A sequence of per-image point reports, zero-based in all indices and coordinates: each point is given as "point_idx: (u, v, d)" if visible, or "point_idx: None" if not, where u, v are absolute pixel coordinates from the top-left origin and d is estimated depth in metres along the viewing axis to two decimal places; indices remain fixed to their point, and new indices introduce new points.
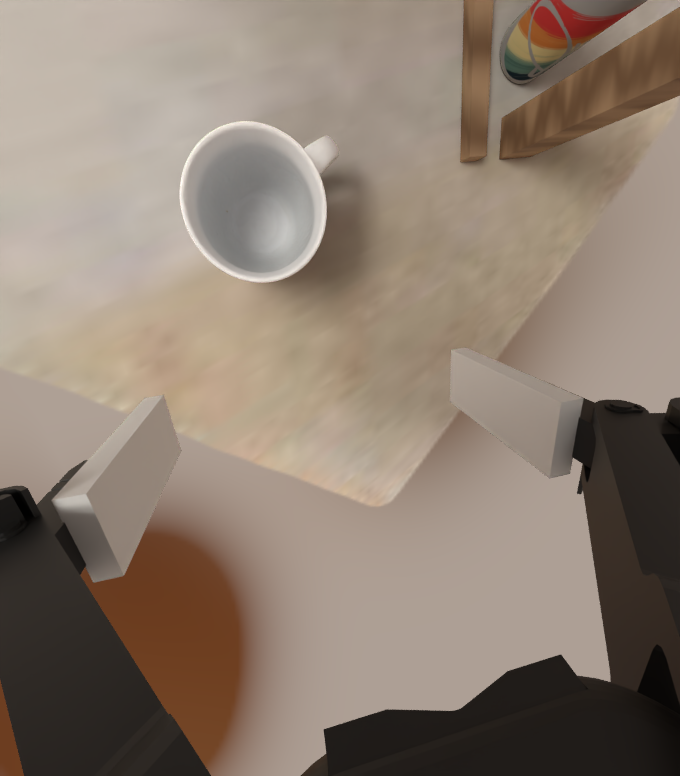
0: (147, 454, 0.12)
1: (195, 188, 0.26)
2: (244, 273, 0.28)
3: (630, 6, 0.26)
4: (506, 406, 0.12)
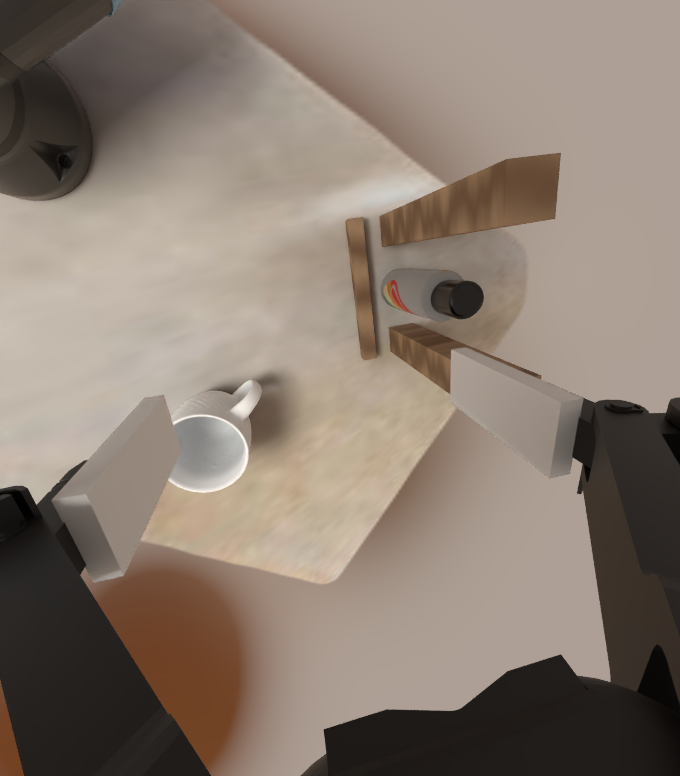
0: (147, 454, 0.12)
1: None
2: (199, 486, 0.43)
3: None
4: (506, 406, 0.12)
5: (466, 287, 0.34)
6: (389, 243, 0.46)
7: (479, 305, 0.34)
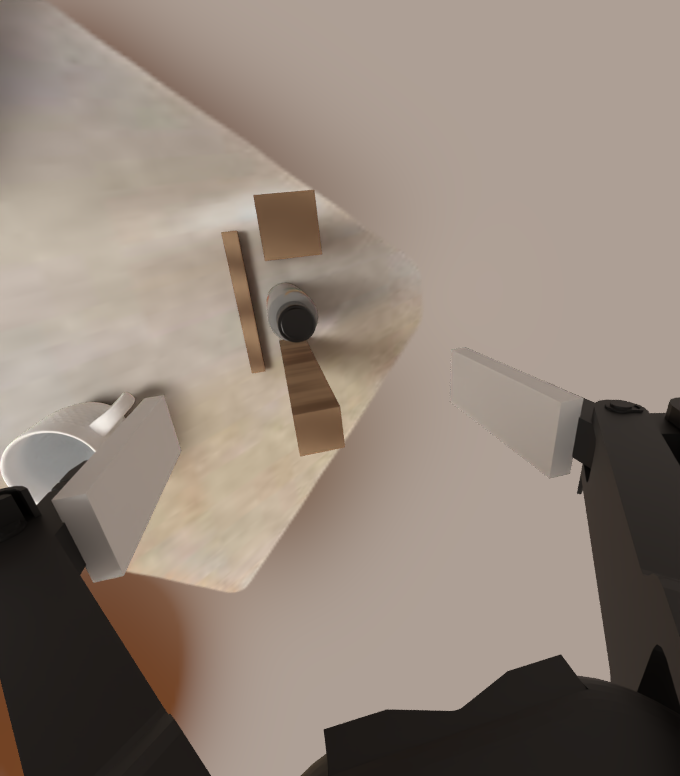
0: (147, 454, 0.12)
1: (17, 457, 0.41)
2: None
3: None
4: (506, 406, 0.12)
5: (296, 311, 0.33)
6: None
7: (311, 329, 0.34)
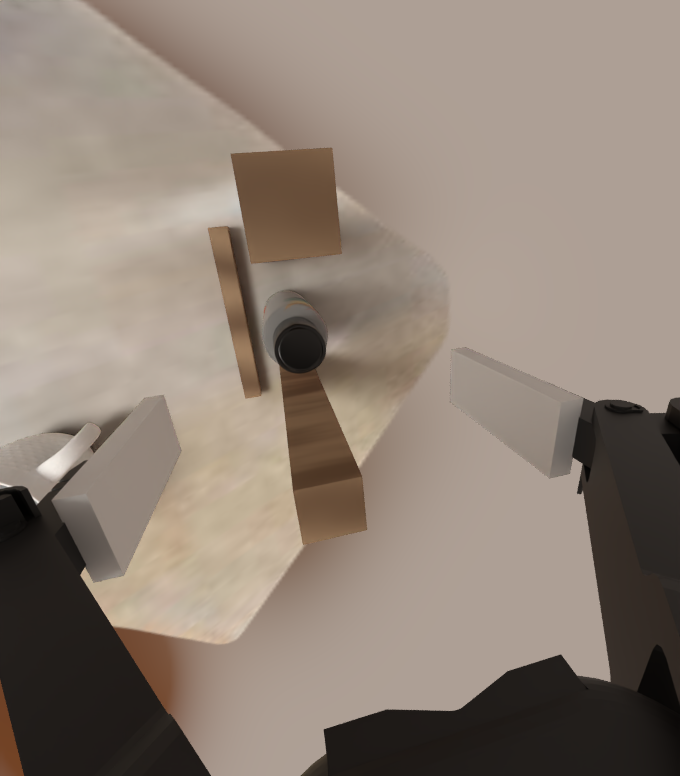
0: (147, 454, 0.12)
1: None
2: None
3: None
4: (506, 406, 0.12)
5: (299, 332, 0.24)
6: None
7: (320, 357, 0.25)
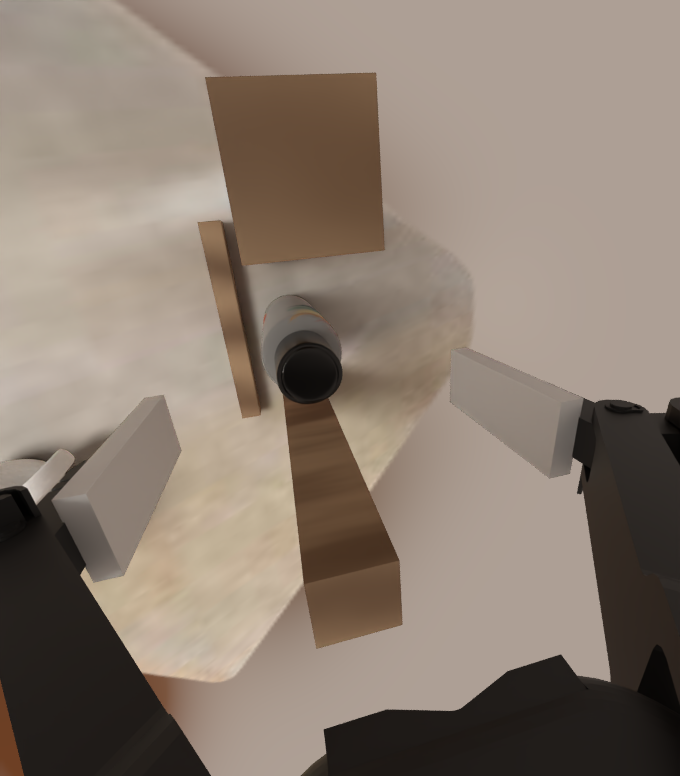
0: (147, 454, 0.12)
1: None
2: None
3: None
4: (506, 406, 0.12)
5: (309, 353, 0.19)
6: None
7: (335, 383, 0.20)
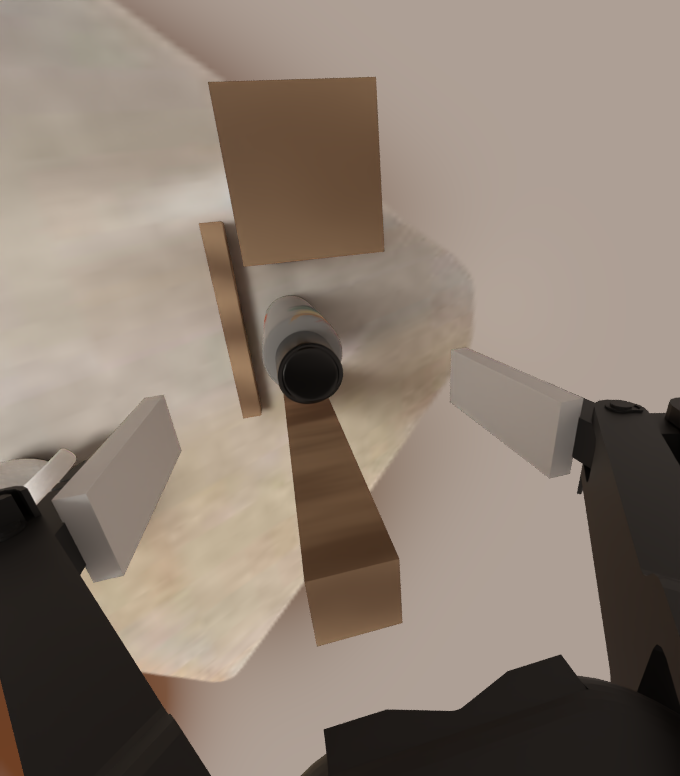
0: (147, 454, 0.12)
1: None
2: None
3: None
4: (506, 406, 0.12)
5: (309, 353, 0.19)
6: None
7: (335, 383, 0.20)
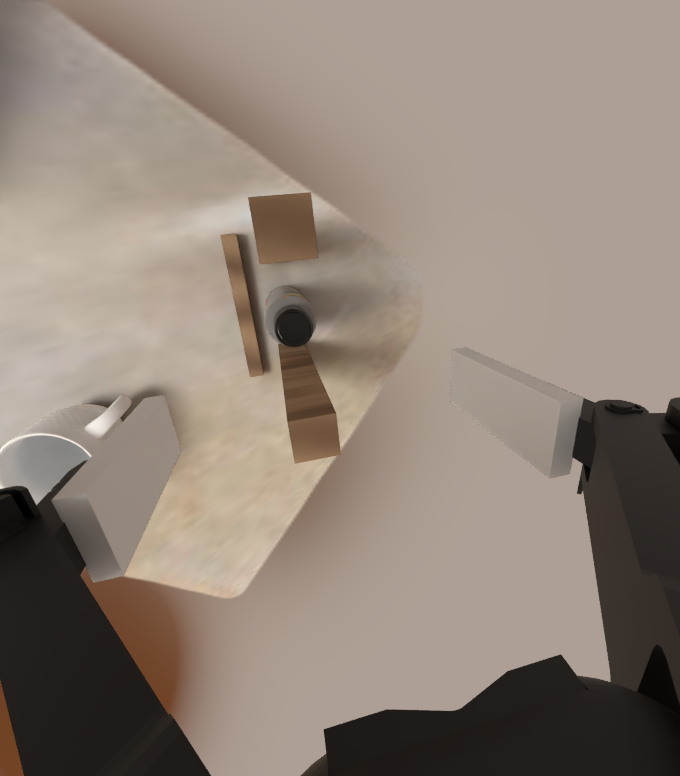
0: (147, 454, 0.12)
1: (11, 459, 0.40)
2: None
3: None
4: (506, 406, 0.12)
5: (293, 315, 0.33)
6: None
7: (309, 334, 0.33)
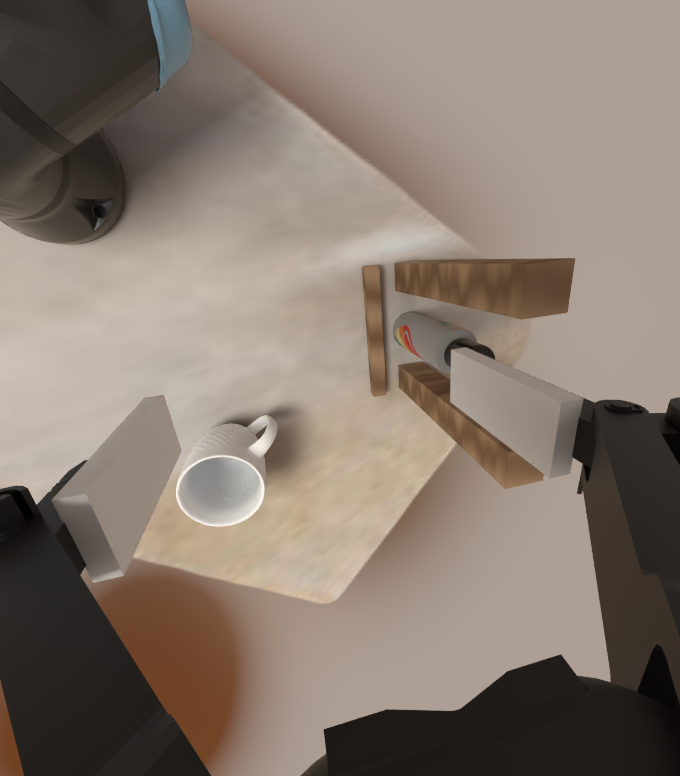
0: (147, 454, 0.12)
1: (185, 478, 0.43)
2: (215, 519, 0.45)
3: None
4: (506, 406, 0.12)
5: (479, 351, 0.36)
6: (403, 290, 0.48)
7: None
